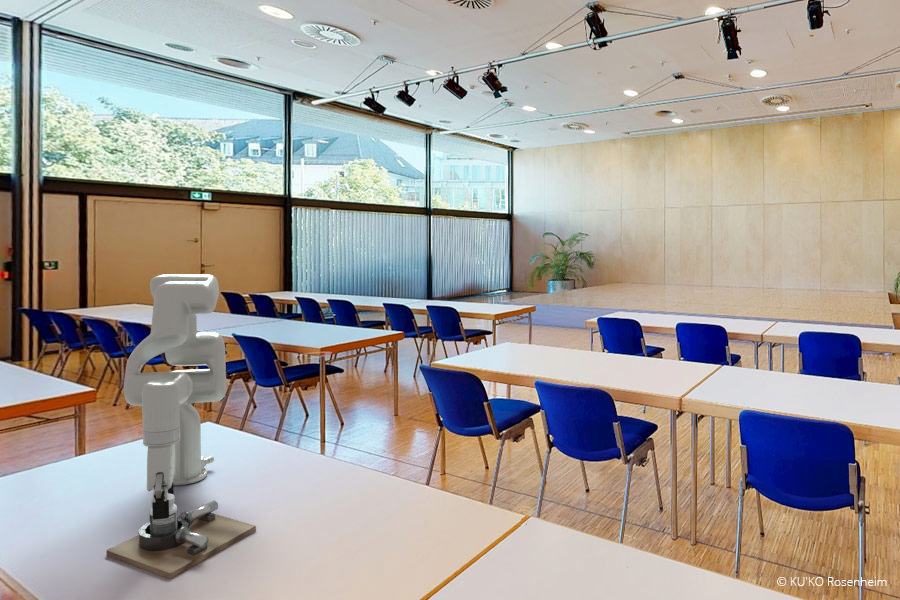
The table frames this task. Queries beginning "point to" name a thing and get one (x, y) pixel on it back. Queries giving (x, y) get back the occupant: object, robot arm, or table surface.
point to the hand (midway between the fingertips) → (163, 508)
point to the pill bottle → (165, 520)
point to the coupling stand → (182, 542)
